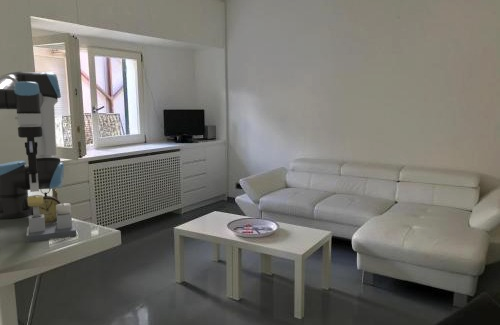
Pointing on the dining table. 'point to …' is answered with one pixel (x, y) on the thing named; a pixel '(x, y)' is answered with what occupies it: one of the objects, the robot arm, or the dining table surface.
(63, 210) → the knob ivory
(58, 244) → the dining table surface
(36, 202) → the knob mustard
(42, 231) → the mount
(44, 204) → the alarm clock
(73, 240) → the dining table surface
